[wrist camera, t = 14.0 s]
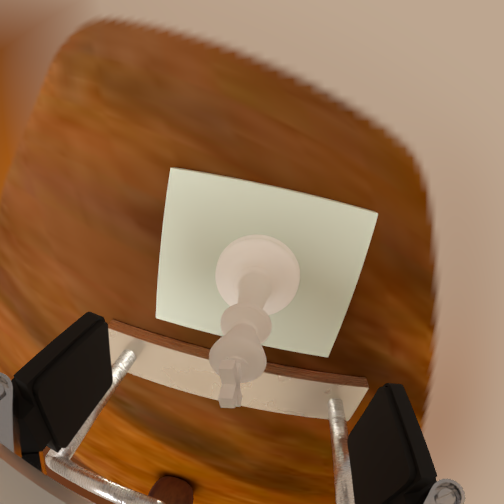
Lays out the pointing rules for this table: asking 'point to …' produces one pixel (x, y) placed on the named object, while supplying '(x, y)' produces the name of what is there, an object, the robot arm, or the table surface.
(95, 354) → the robot arm
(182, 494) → the wooden figurine
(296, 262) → the chess piece
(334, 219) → the pad
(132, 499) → the silver metal frame stand
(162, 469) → the table surface
